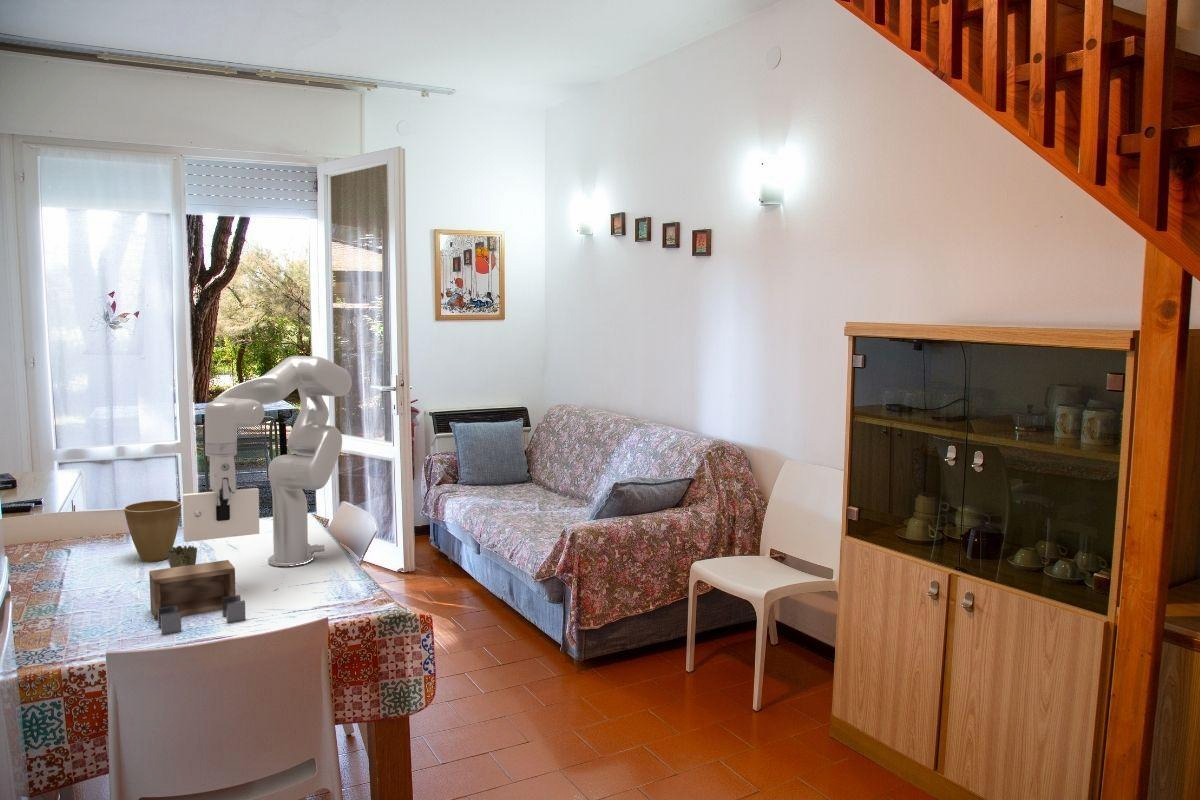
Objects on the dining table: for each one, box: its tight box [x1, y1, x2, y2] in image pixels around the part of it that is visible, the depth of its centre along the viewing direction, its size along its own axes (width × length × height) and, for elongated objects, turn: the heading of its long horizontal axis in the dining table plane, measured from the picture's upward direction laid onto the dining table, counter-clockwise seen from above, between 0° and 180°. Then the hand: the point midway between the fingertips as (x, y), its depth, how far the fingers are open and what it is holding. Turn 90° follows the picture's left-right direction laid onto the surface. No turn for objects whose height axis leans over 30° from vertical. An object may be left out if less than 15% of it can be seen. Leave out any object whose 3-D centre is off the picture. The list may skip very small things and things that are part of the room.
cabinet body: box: [148, 559, 237, 621], centre depth 212 cm, size 18×8×10 cm, turn 125°
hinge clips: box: [157, 594, 247, 636], centre depth 203 cm, size 18×6×4 cm, turn 125°
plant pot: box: [123, 499, 182, 563], centre depth 253 cm, size 15×15×16 cm
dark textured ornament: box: [167, 545, 198, 568], centre depth 237 cm, size 8×7×8 cm
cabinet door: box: [182, 487, 260, 543], centre depth 224 cm, size 18×3×12 cm, turn 124°
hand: (222, 518), depth 224 cm, fingers closed on cabinet door, 2 cm apart
